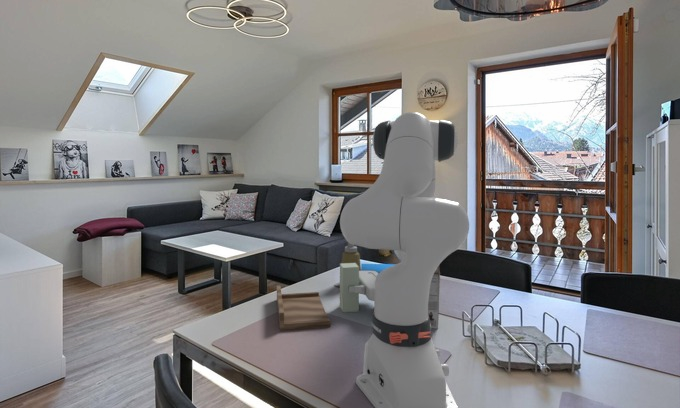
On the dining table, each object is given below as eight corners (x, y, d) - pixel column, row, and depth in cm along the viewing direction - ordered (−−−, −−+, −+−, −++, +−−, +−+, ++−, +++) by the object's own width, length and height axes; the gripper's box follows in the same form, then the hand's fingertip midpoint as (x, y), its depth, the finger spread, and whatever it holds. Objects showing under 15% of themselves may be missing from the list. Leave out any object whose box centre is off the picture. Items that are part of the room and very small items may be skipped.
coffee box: (415, 315, 121) (417, 262, 119) (437, 316, 120) (439, 264, 118) (415, 327, 112) (416, 271, 110) (438, 329, 111) (440, 272, 109)
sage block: (358, 311, 124) (359, 266, 122) (342, 312, 123) (342, 267, 121) (355, 305, 129) (355, 262, 127) (339, 306, 128) (339, 263, 126)
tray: (330, 326, 112) (330, 309, 112) (279, 330, 110) (279, 313, 109) (318, 297, 137) (318, 282, 136) (276, 299, 134) (276, 285, 133)
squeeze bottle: (347, 280, 156) (348, 234, 154) (365, 283, 151) (366, 236, 149) (335, 285, 149) (335, 237, 147) (353, 289, 145) (354, 240, 143)
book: (360, 263, 168) (421, 263, 166) (360, 273, 168) (421, 273, 167) (360, 275, 151) (428, 275, 149) (360, 286, 151) (427, 286, 150)
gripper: (379, 265, 137) (340, 267, 135) (399, 283, 117) (353, 285, 115) (379, 283, 138) (340, 285, 135) (399, 303, 118) (353, 307, 115)
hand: (346, 285), depth 125 cm, fingers closed on sage block, 5 cm apart
